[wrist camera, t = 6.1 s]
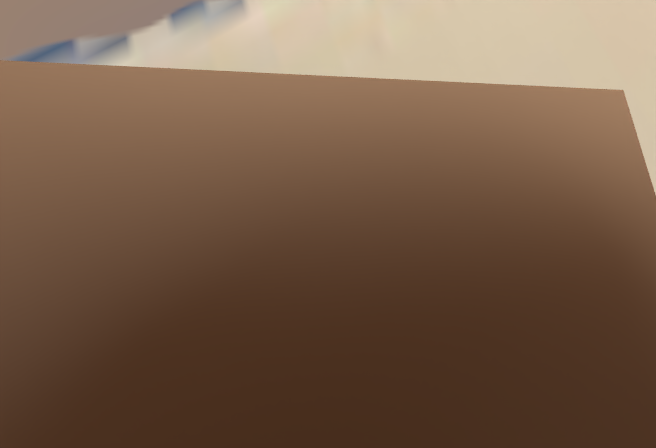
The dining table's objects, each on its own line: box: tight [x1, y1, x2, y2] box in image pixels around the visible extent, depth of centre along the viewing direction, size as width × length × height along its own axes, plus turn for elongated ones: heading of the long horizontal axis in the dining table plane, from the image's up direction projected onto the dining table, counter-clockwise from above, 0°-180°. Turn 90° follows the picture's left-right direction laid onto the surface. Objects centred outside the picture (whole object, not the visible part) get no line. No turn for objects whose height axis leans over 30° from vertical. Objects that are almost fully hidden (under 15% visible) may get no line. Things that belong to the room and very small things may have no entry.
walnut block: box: [0, 60, 656, 448], centre depth 9 cm, size 5×5×13 cm
